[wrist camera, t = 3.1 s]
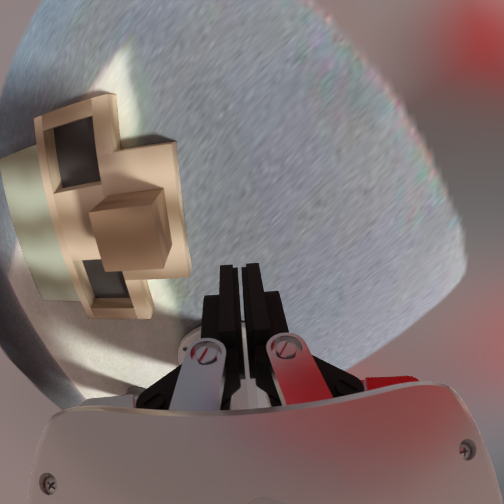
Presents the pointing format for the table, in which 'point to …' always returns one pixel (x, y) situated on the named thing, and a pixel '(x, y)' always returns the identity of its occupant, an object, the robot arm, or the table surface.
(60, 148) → the board
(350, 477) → the robot arm
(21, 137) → the table surface
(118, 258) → the walnut block
